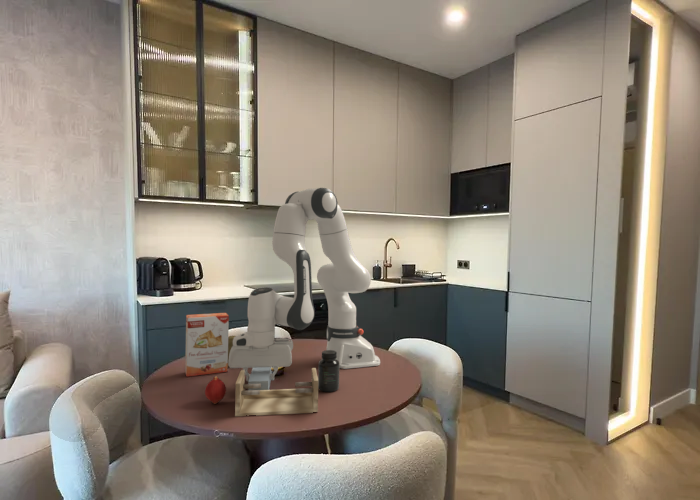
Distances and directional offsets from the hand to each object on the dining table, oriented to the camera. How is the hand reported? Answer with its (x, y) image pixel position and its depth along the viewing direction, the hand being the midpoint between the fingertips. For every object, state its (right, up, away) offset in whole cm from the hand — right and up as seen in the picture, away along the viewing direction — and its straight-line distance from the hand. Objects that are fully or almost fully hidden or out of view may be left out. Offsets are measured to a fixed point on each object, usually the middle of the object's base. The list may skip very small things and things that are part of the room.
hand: (260, 380), depth 128 cm
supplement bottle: (+22, -3, -1) cm, 22 cm away
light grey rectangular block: (0, -2, 0) cm, 2 cm away
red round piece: (-10, -2, -14) cm, 17 cm away
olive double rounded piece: (-16, -2, +22) cm, 27 cm away
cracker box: (-22, -2, +13) cm, 26 cm away
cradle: (+8, -3, -15) cm, 17 cm away
